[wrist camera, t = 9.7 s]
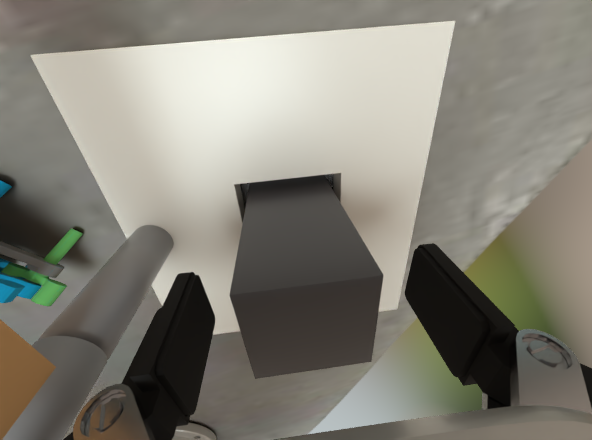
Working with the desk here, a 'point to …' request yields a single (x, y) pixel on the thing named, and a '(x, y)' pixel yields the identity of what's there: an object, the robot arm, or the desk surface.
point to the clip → (44, 383)
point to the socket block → (243, 150)
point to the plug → (303, 280)
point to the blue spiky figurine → (33, 269)
